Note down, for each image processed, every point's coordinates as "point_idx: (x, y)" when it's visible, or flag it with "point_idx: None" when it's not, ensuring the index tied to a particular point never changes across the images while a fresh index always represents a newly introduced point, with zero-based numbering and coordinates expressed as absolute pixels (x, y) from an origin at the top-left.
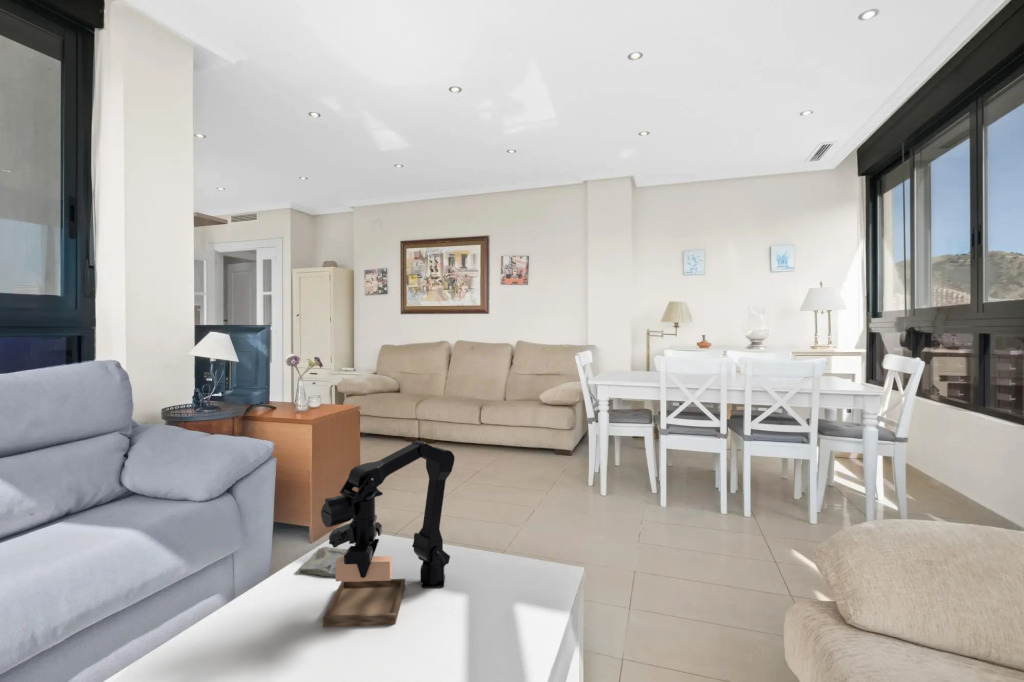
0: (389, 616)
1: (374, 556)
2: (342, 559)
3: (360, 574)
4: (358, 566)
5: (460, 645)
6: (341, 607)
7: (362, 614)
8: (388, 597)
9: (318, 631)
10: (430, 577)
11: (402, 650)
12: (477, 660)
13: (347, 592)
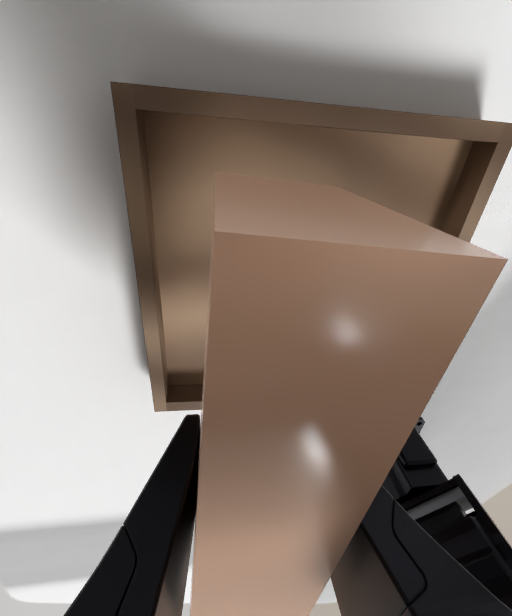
0: (153, 391)
1: (309, 611)
2: (339, 359)
3: (173, 441)
4: (113, 548)
5: (73, 514)
6: (278, 168)
7: (154, 303)
8: None
9: (84, 69)
10: None
11: (20, 421)
12: (23, 540)
13: (414, 172)
